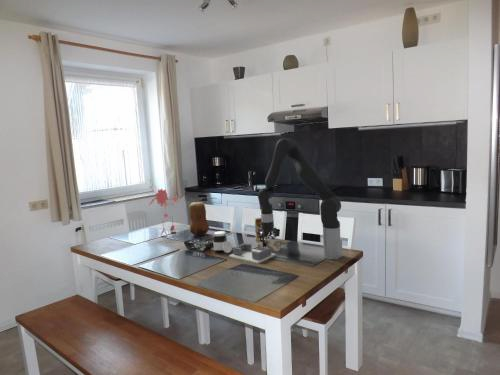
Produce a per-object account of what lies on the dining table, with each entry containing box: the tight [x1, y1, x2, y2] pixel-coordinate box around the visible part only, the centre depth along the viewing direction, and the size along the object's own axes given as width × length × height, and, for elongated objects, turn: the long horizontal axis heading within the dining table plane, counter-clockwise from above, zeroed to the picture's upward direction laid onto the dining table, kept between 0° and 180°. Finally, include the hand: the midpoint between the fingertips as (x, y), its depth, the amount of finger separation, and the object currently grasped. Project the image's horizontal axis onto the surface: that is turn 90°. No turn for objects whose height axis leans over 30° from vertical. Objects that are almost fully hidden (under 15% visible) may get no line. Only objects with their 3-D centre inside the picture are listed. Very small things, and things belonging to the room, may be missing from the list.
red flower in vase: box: [148, 188, 182, 236], centre depth 270 cm, size 15×26×35 cm, turn 147°
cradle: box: [228, 242, 276, 265], centre depth 207 cm, size 22×16×5 cm
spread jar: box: [212, 230, 233, 254], centre depth 219 cm, size 12×11×12 cm
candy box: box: [254, 217, 270, 242], centre depth 236 cm, size 9×4×15 cm, turn 98°
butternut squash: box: [188, 201, 210, 237], centre depth 259 cm, size 14×13×25 cm
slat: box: [257, 237, 282, 252], centre depth 218 cm, size 14×4×6 cm, turn 55°
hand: (269, 246), depth 218 cm, fingers open, 8 cm apart
